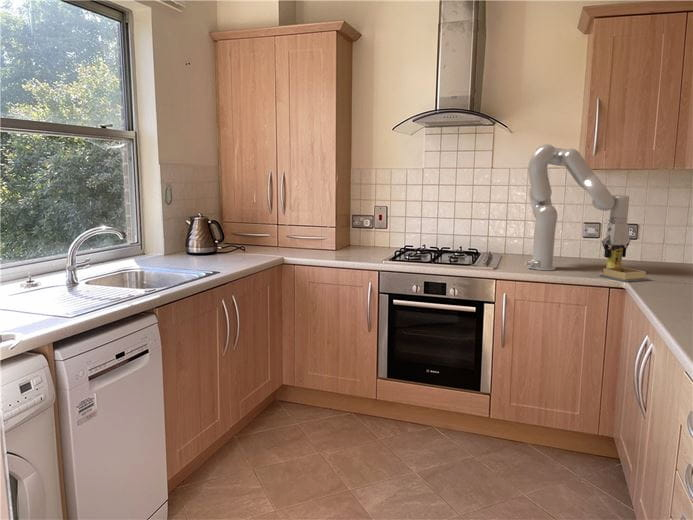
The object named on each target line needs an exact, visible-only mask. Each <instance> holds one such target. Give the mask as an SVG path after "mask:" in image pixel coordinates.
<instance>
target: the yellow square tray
mask: <svg viewBox="0 0 693 520" xmlns="http://www.w3.org/2000/svg"><path fill="white" fill-rule="evenodd" d="M602 272H603V273H601V274H599V277H600V278H605V279H610V280H612V281H613V280H614V281H618V282H622V283H629V282H628V281H635V282H644V281H645V282H646V281H649V280H650V278H649V277H648V278H647V277H646V275H647V274H646V273H647V271H644V270H639V269H634V268H629V267H625V266H621V267H617V268H606V267H605V268H603V270H602Z"/></svg>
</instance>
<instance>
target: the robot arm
mask: <svg viewBox="0 0 693 520" xmlns="http://www.w3.org/2000/svg"><path fill="white" fill-rule="evenodd" d="M549 165H553V166H558V167H565V169H566V170H567V171H568V172H569V174H570V175H571V177H572V178H573V180H574V181H575V182H576V184H577V185H578V186H580V188H582V189H583V190H585V192H586V193H588V194H589V196H590V197H591V199H592V201H591V202H592V204H591V205H592V206H593V207H594V209H596V210H599V211H602V212H604V211H605V212H607V211H609V219H608V222H609V223H608V225H607V228H606V233H605V234H606V235H605V237H604V238H603V239H602V240H601V244H602V247H603V249H604V253H603V257H604V258H606V259H607V258H610V257H611V250H610V249H611V247H612V246H613V245H614V246H618V245H622V246H623V253H622V258H626V254H627V249H628V246H629V245H630V242H631V240H632V239H631V238H629V233H630V231H629V224H628V218H629V217H628V216H629V207H630V206H629V205H630V196H629V195H626V194H614V195H612V194H611V192H610V191H609V189H608V188H607V186H606V185H605V184H604V183H603V181H602V180H601V179H600V178H599V177H598V175H597V174H596V173H595V172H594V171H593V169H592V168H591V167H590V166H589V164H588V163H587V161H586V160H585V158H584V157H583V155H582V154H581V153H580V152H579V150H577V149H575V148H561V147H556V146H555V147H554V146H553V145H552V144H550V143H547V144H546V143H545V144H542V145H540V146H538V147H537V148H536V150H535V151H534V152H533V154H532V155H531V157H530V160H529V162H528V167H527V168H528V178H529V182H530V183H529V184H530V188H529V192H528V193H529V200H530V204H531V210H532V213H533V216H534V218H535V224H534V235H533V245H532V246H533V247H532V249H533V250H532V258H530V260H525V261H524V262H523V264H524V265H525V266H528V268H529V269H531V270H536V271H555V270H556V269H557V266H555V265H553V262H554V252H555V251H554V250H555V241H556V227H557V222H558V210H557V209H556V207H555V206H553V203H552V198H551V196H552V194H553V193H552V187H551V184H550V180H549V179H550V178H549V172H548V166H549Z"/></svg>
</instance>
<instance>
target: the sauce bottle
mask: <svg viewBox="0 0 693 520" xmlns="http://www.w3.org/2000/svg"><path fill="white" fill-rule="evenodd" d="M610 250H611V257H610V258H606V267H605V268H617V267H622V259H623V257H622V253H623V246H622V245H618V246H614V245H613V246H612V247H611V249H610Z"/></svg>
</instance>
